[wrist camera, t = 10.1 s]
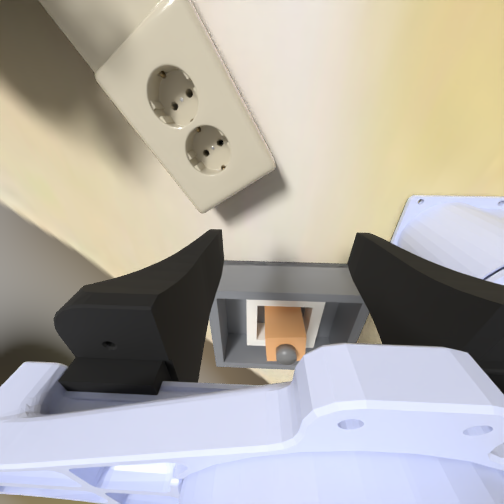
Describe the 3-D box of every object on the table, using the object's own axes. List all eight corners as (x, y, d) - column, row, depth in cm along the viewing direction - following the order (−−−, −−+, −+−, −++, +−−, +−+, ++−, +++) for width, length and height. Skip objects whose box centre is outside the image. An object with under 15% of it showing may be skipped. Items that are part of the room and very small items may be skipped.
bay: (356, 264, 24) (376, 295, 20) (332, 336, 31) (343, 371, 27) (214, 260, 25) (205, 290, 20) (222, 332, 32) (216, 366, 27)
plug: (296, 316, 28) (306, 370, 22) (266, 316, 28) (267, 370, 22) (297, 293, 26) (308, 346, 20) (264, 294, 26) (265, 347, 20)
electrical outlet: (34, -290, 8) (277, 169, 16) (105, -164, 11) (274, 159, 19) (-50, -99, 10) (200, 216, 18) (30, -44, 13) (210, 200, 21)
